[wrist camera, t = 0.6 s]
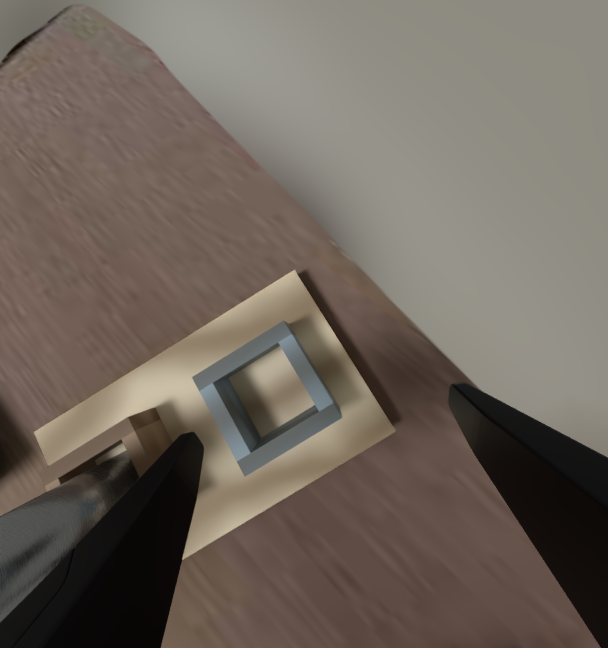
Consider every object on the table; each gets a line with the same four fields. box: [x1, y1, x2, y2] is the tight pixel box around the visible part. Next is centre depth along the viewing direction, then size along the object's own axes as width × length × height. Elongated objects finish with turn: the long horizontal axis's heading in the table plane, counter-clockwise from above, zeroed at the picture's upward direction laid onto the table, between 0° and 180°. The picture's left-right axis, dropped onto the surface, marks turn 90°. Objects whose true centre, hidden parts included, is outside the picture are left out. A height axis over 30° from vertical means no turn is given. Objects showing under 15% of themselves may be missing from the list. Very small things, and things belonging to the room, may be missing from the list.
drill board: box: [34, 270, 396, 560], centre depth 20 cm, size 16×28×4 cm, turn 121°
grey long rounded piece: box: [0, 450, 140, 622], centre depth 16 cm, size 4×4×11 cm
